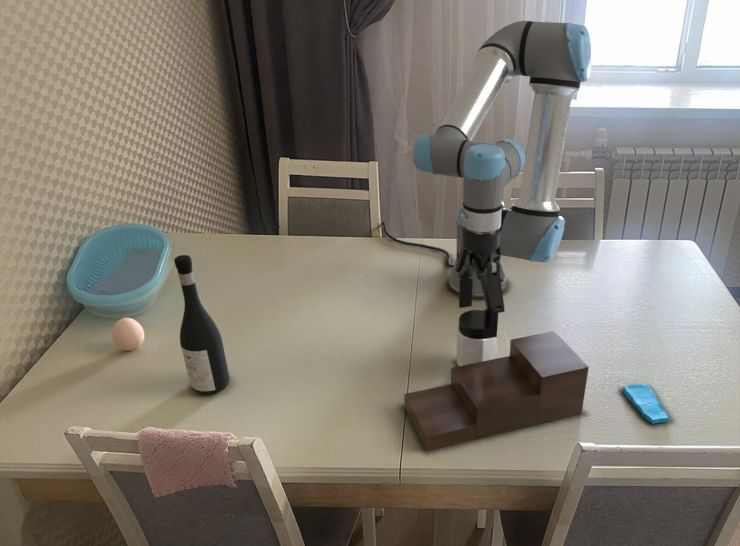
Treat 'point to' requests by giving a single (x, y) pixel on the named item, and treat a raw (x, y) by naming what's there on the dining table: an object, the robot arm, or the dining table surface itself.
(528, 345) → the step shelf
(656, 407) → the sponge
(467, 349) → the jar
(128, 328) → the egg
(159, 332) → the dining table surface
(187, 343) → the wine bottle
